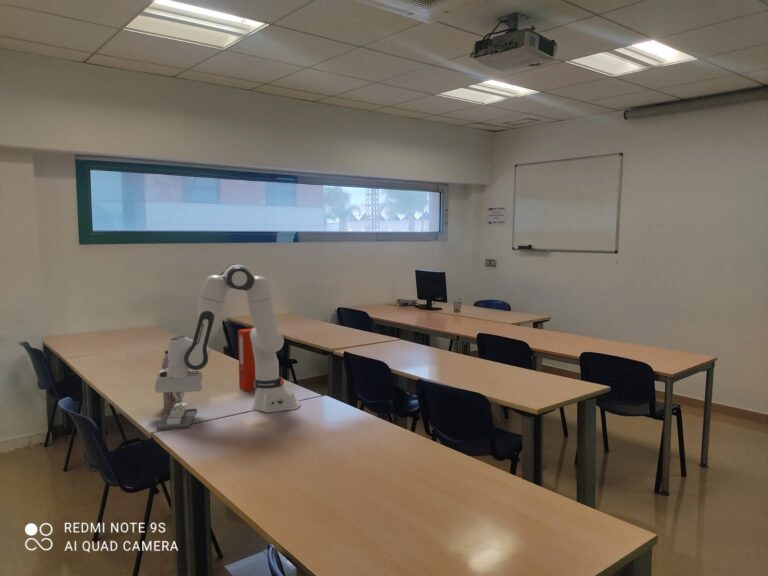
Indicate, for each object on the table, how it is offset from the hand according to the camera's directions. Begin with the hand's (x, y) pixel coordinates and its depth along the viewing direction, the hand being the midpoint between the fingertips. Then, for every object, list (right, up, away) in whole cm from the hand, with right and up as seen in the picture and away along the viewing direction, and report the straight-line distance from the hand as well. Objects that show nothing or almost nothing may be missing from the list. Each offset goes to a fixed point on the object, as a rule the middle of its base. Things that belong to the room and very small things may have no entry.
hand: (179, 401), depth 245 cm
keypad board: (+2, -8, -6) cm, 10 cm away
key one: (0, -4, +1) cm, 4 cm away
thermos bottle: (-8, -6, +12) cm, 15 cm away
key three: (+3, -7, -13) cm, 15 cm away
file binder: (+25, -2, +47) cm, 53 cm away
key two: (+2, -5, -6) cm, 8 cm away
